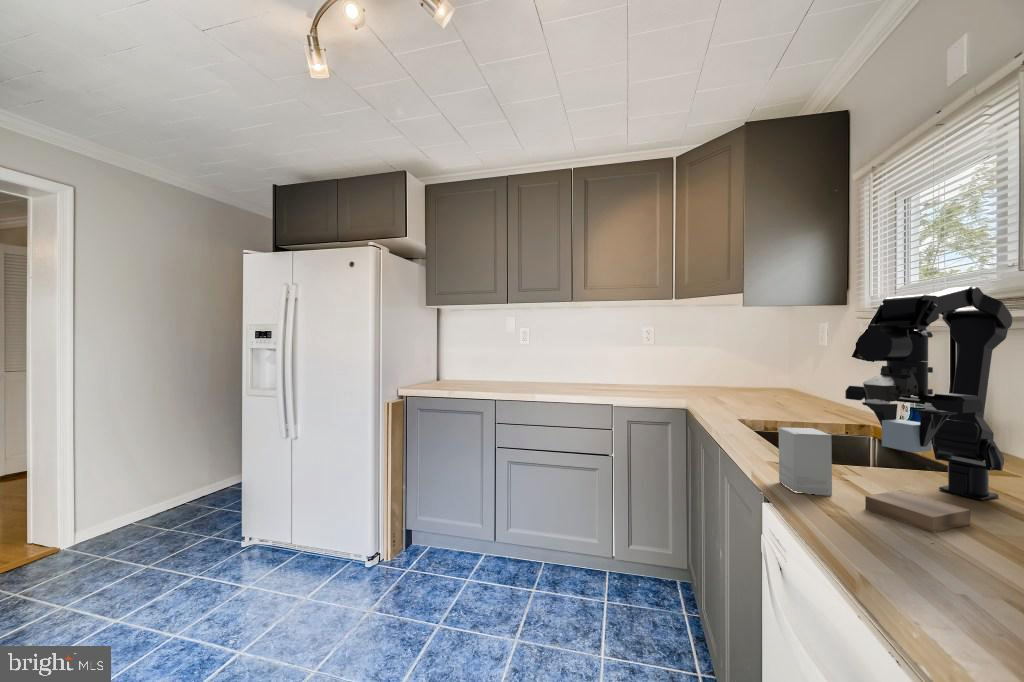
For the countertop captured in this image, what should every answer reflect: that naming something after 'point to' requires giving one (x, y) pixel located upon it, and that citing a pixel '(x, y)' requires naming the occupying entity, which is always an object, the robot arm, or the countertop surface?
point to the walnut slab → (918, 510)
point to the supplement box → (805, 460)
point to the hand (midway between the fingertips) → (906, 443)
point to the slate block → (903, 435)
